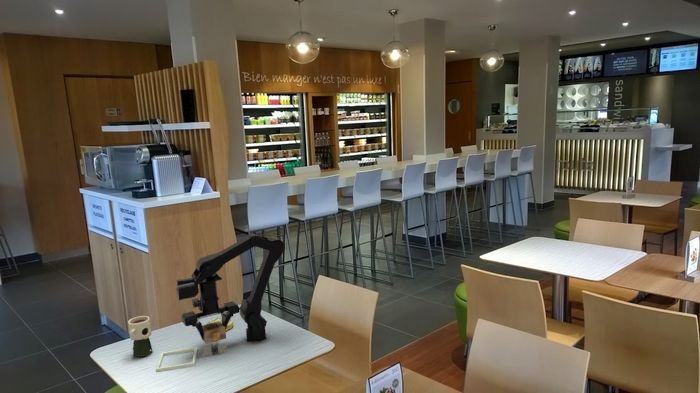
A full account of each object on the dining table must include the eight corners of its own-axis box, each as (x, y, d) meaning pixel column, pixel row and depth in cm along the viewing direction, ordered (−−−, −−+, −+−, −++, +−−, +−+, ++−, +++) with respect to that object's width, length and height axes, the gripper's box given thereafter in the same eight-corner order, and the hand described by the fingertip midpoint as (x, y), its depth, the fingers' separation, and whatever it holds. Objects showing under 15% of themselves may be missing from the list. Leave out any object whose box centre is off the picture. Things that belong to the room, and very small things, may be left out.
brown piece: (220, 331, 171) (219, 321, 170) (227, 339, 164) (226, 328, 163) (200, 336, 167) (199, 326, 167) (207, 345, 160) (206, 334, 160)
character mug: (144, 361, 162) (140, 326, 161) (125, 361, 163) (120, 326, 161) (160, 347, 173) (156, 313, 171) (141, 347, 174) (137, 313, 172)
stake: (226, 345, 172) (225, 330, 171) (226, 355, 164) (224, 339, 163) (203, 348, 170) (202, 333, 169) (202, 358, 162) (200, 342, 161)
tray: (197, 351, 168) (197, 347, 167) (194, 368, 156) (194, 363, 156) (161, 357, 165) (161, 352, 165) (156, 374, 153) (155, 369, 153)
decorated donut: (219, 322, 193) (219, 314, 192) (239, 327, 187) (238, 318, 187) (199, 332, 184) (198, 323, 183) (219, 338, 178) (218, 328, 178)
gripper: (227, 282, 176) (231, 322, 178) (175, 294, 166) (180, 336, 168) (237, 290, 166) (241, 331, 168) (183, 303, 156) (188, 347, 159)
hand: (213, 336), depth 166 cm, fingers closed on brown piece, 7 cm apart
